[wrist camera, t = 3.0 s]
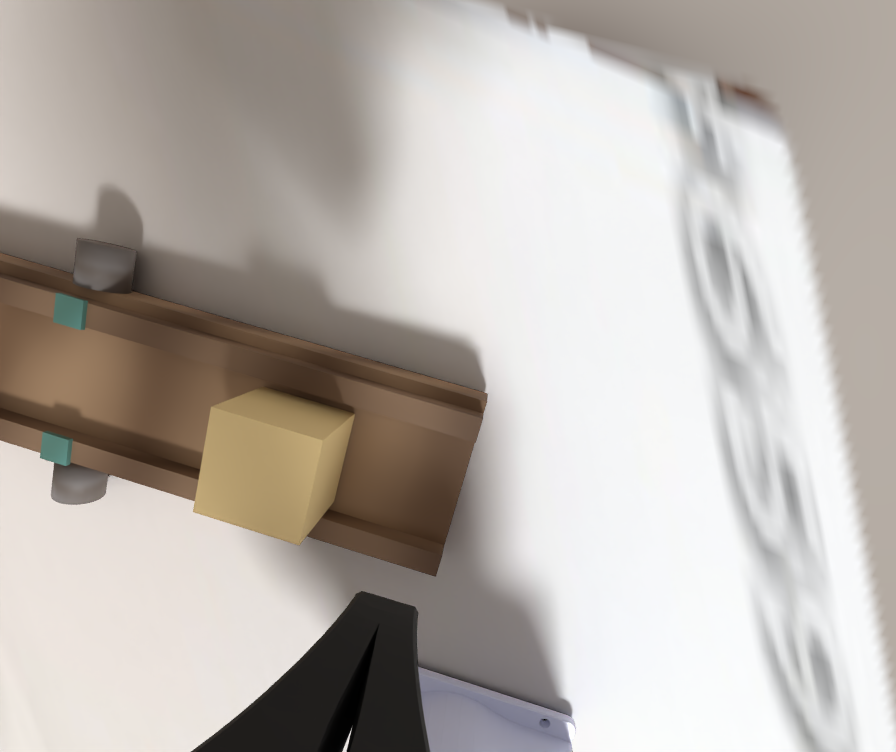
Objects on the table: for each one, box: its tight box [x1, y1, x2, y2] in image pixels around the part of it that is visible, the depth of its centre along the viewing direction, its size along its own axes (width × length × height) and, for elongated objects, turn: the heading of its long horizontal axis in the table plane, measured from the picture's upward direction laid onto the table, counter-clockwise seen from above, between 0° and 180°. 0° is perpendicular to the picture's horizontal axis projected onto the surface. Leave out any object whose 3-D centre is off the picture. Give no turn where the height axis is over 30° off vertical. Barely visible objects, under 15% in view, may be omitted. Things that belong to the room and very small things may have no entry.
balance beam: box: [0, 238, 488, 577], centre depth 20 cm, size 26×12×2 cm, turn 75°
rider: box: [193, 387, 355, 545], centre depth 17 cm, size 4×4×4 cm
